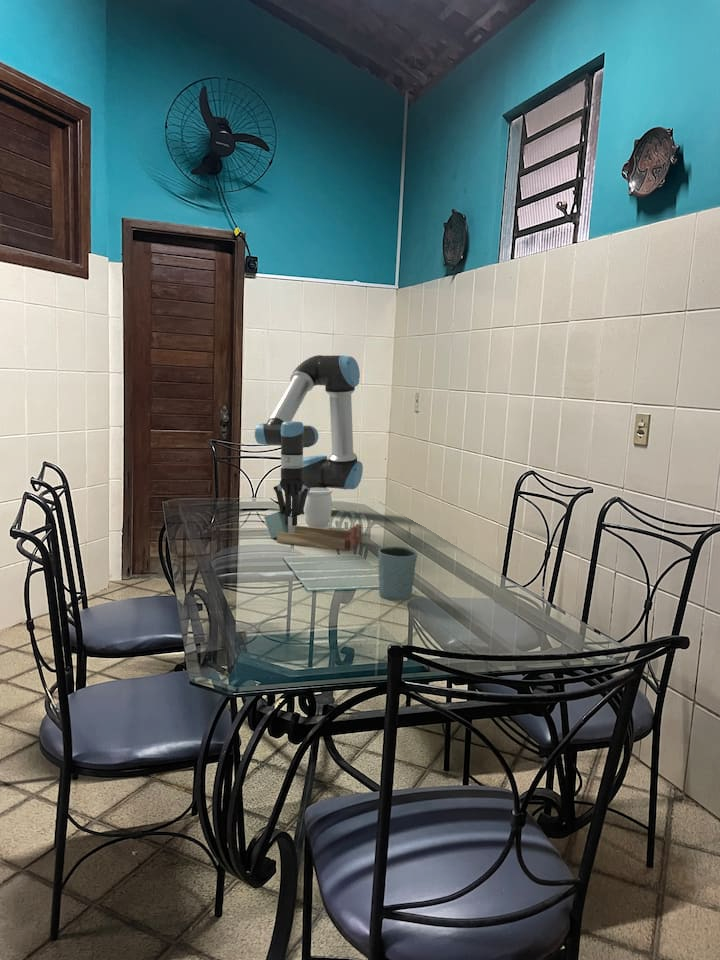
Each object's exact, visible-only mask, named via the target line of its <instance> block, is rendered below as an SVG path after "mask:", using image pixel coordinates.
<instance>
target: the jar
mask: <svg viewBox="0 0 720 960" xmlns="http://www.w3.org/2000/svg"><path fill="white" fill-rule="evenodd" d="M332 493H333V490H332V488H327V487H326V488H310V491H309V492H308V494H307V497H306V502H305V506H304V519H305V520H304V521H305V523H306V527H315V528H325V529H330V527H329V526H328V524H330V521H331V516H332V510H333V499H332Z"/></svg>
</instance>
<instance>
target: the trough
mask: <svg viewBox="0 0 720 960" xmlns="http://www.w3.org/2000/svg"><path fill="white" fill-rule="evenodd" d="M361 542H362V524H356V525H354V526H353V527H351V528H350V529H348V530H343V529H342V530H341V529H335V528H334V529H333V528H329V529H325V528H315V527H307V525H306V526H304V525H296V526H295V533H287V532H277V537H276V543H277V544H286V545H287V544H288V545H297V546H307V547H316V548H323V549H333V550H343V551H350V550H352V549H353V548H354V547H356V546H357V545H359V544H361Z"/></svg>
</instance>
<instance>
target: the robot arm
mask: <svg viewBox="0 0 720 960" xmlns="http://www.w3.org/2000/svg"><path fill="white" fill-rule="evenodd" d="M360 376H361V373H360V368H359V364H358V362H357V360H356V359H355V358H354V357H353V356H349V355H322V354H321V355H320V354H318V355H313V356H311V357H309V358H306V359H305V360H303V361H302V362H301V363H300V364H299V365H298V366H297V367H296V368H295V369H294V370H293V372H292V373H291V375H290V377H289V378H290V379H289V381H290V382H289V384H288V385H287V387H286V389H285V391H284V392H283V394H282V396H281V398H280V400H279V401H278V403H277V405H276V406H275V408H274V410H273V412H272V413H271V415H270V417H269V418H268V420H267V422H266V423H259V424H257V425H256V426H255V429H254V438H255V442H256V443H258V444H259V445H263V446H280V466H281V468H280V481H279V483H278V484H277V485H274V486H273V491H274V492H275V495H276V499H277V502H278V503H277V504H278V508H279V512H280V513H281V514H284V515H285V516H286V525H288V533H295V526H298V516H301V515H302V514H304V506H305V502H306V497H307V494H308V492H309V491H310V488H328V489H339V490H340V489H341V490H355V489H357V488H358V486H360V483H361V480H362V478H363V470H364V466H363V463H362V461H360V460H358V455H357V454H355V452H354V437H353V436H354V434H353V432H354V431H353V410H352V409H353V407H352V402H353V401H352V394H353V393H354V392H355V390H356V387H357V386H358V385H359V384H360V378H361V377H360ZM315 386H324V388H325V389H324V390H325V392H326V393H327V394H328V395H329V411H330V413H329V414H330V432H331V434H330V435H331V454H330V455H329V456H327V455H322V454H321V455H311V456H305V457H304V448H310V447H313V446H315V445H316V443H318V442H319V441H318V440H319V437H320V436H319V431H318V430H317V429H316V427H314V426H312V425H308V424H307V425H304V424H303V422H301V421H293V419H294V417H295V415H296V413H297V412H298V411H299V408H300V406H301V405H302V403H303V401H304V399H305V398H306V396H307V394H308V392H310V391H312V390H313V388H314V387H315ZM283 492H284V494H283ZM284 497H285V498H284ZM304 515H305V514H304Z"/></svg>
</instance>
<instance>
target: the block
mask: <svg viewBox="0 0 720 960" xmlns="http://www.w3.org/2000/svg"><path fill="white" fill-rule="evenodd" d="M263 519H264V520H265V524H266V526H267V530H268V533H269V536H270V539H274V538H275V539H276V538H277V532H287V533H288V525H286V516H285V515H284V514H281V513H280V511H276V512H274V513H272V514H268V515H266V516H265V515H264V517H263Z"/></svg>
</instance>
